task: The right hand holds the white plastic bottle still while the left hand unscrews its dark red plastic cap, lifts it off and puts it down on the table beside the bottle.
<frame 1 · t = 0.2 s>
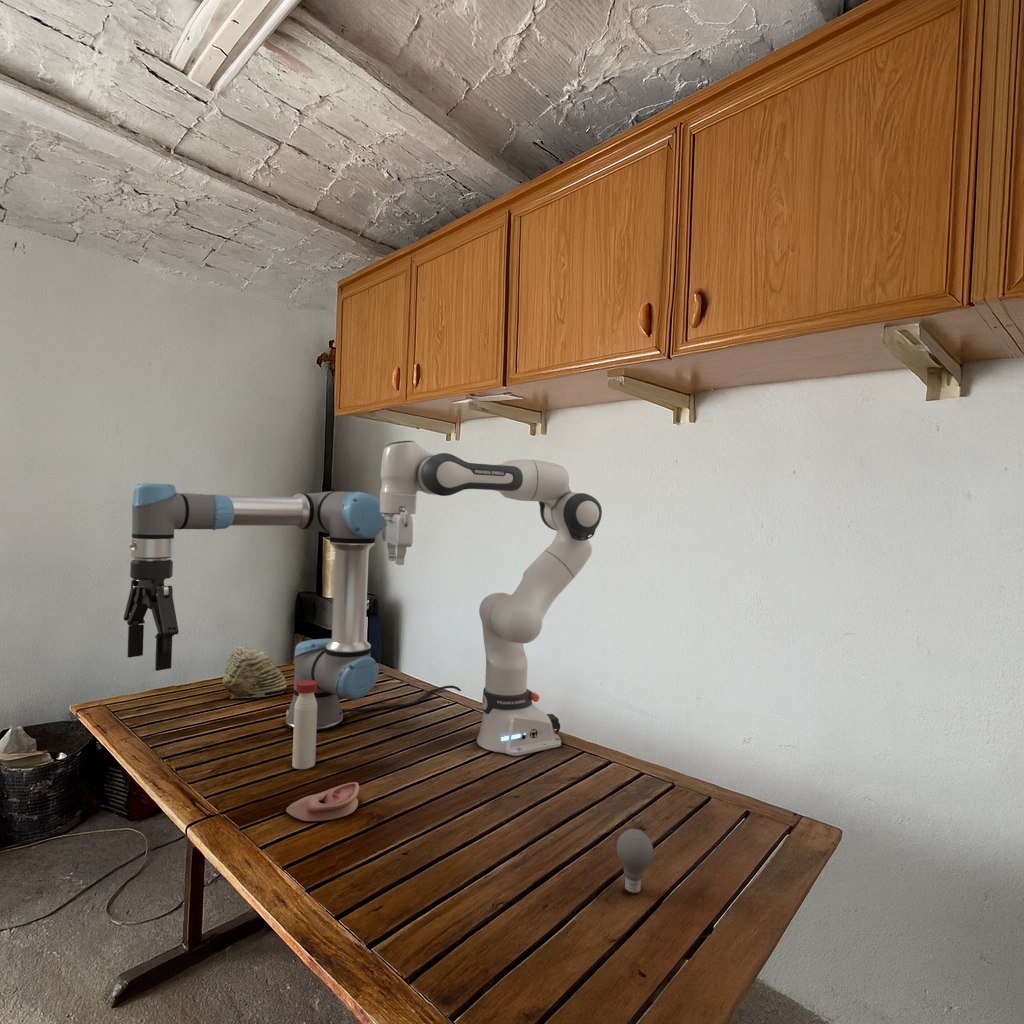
left hand: (148, 662, 129), 28 cm above the table, tool pointing down, fingers open, 13 cm apart
right hand: (395, 562, 156), 48 cm above the table, tool pointing down, fingers open, 8 cm apart
fossil: (254, 694, 198), on the table
light bulb: (632, 891, 106), on the table
cap: (306, 684, 149), point 19 cm above the table, screwed on, not yet turned
anatomical model: (322, 809, 129), on the table
bottle: (303, 764, 149), on the table
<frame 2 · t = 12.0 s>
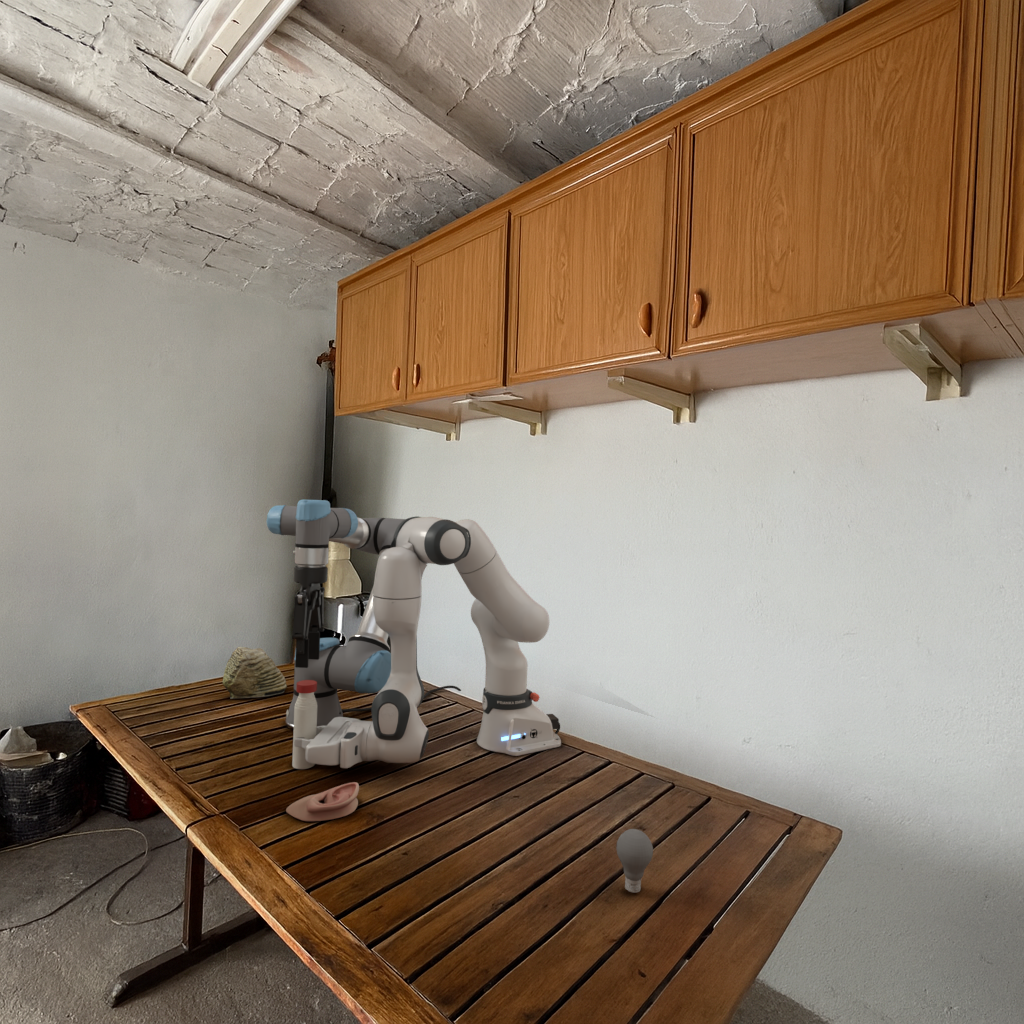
left hand: (307, 662, 149), 24 cm above the table, tool pointing down, fingers open, 7 cm apart
right hand: (301, 736, 149), 7 cm above the table, tool horizontal, fingers closed on bottle, 5 cm apart
bottle: (303, 764, 149), on the table, touching right hand
everything else where it was.
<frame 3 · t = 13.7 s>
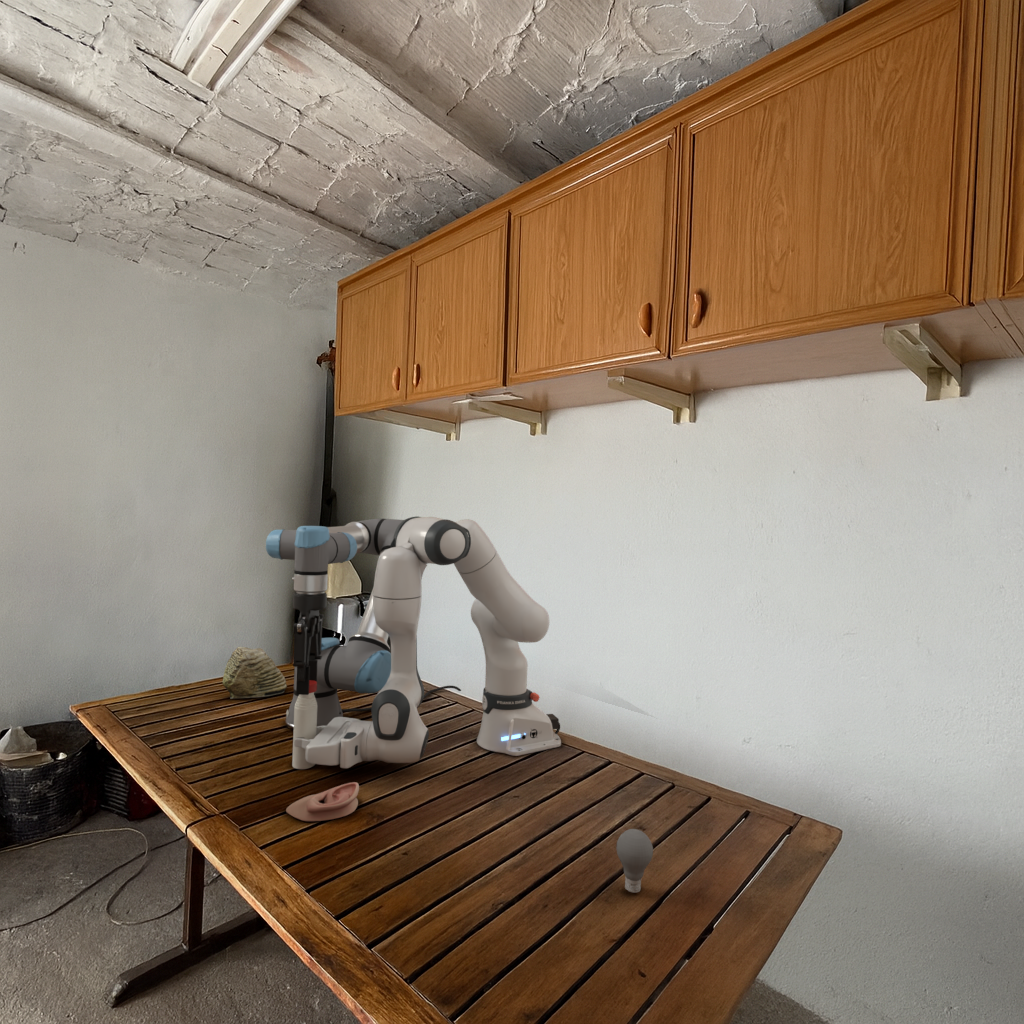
left hand: (306, 690, 149), 18 cm above the table, tool pointing down, fingers closed on cap, 4 cm apart
right hand: (301, 736, 149), 7 cm above the table, tool horizontal, fingers closed on bottle, 5 cm apart
cap: (306, 684, 149), point 19 cm above the table, screwed on, not yet turned, touching left hand
bottle: (303, 764, 149), on the table, touching right hand
everything else where it was.
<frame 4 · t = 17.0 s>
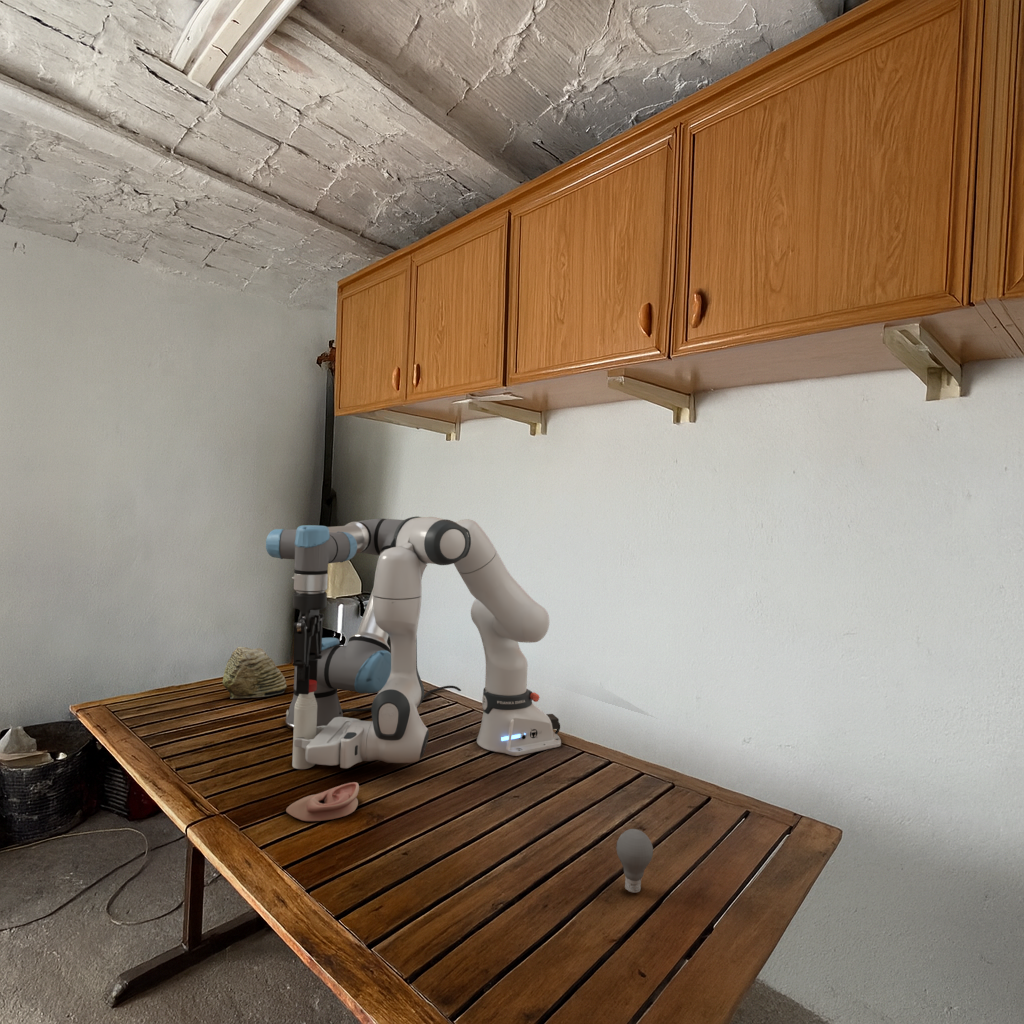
left hand: (306, 689, 149), 18 cm above the table, tool pointing down, fingers closed on cap, 4 cm apart
right hand: (300, 736, 149), 7 cm above the table, tool horizontal, fingers closed on bottle, 5 cm apart
cap: (306, 683, 149), point 19 cm above the table, turned 115° so far, risen 0.1 cm, still on its thread, touching left hand
bottle: (303, 764, 149), on the table, touching right hand
everything else where it was.
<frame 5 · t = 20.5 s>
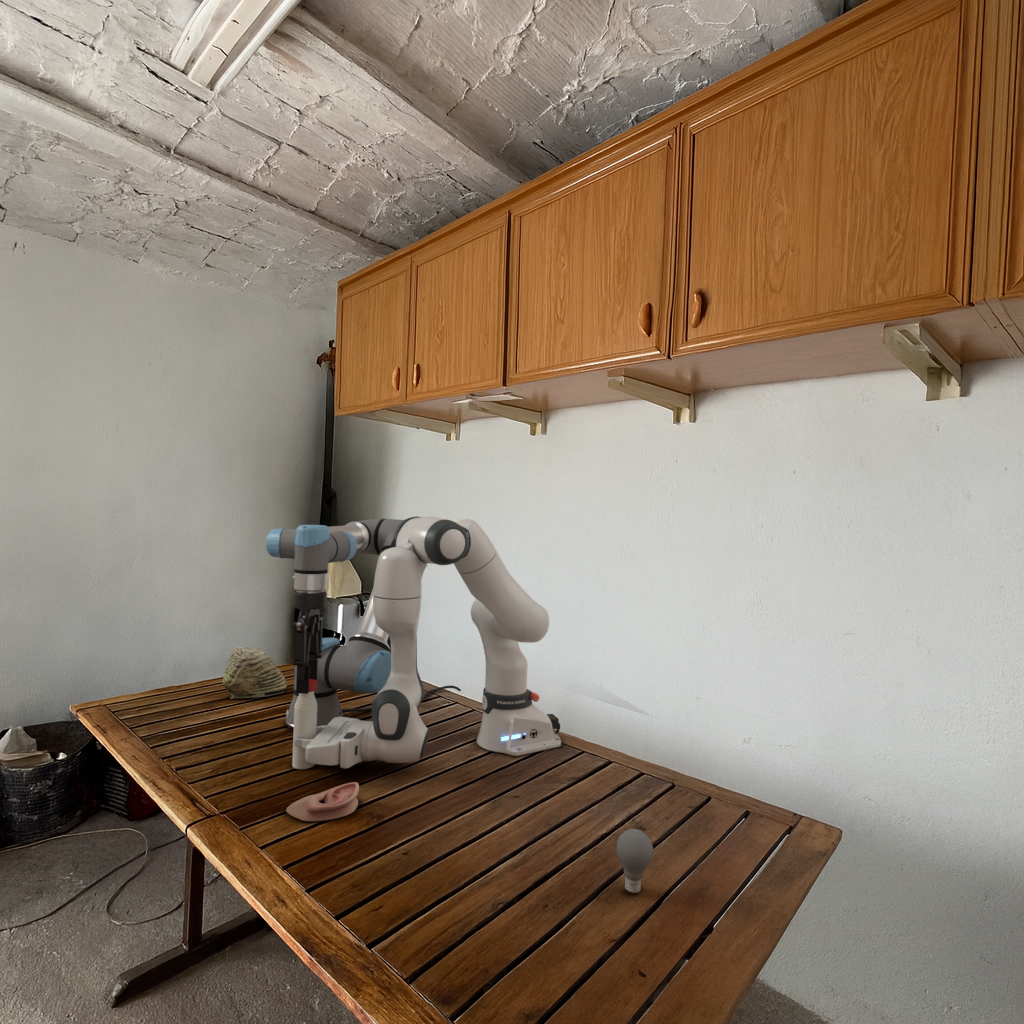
left hand: (306, 689, 149), 18 cm above the table, tool pointing down, fingers closed on cap, 4 cm apart
right hand: (301, 736, 149), 7 cm above the table, tool horizontal, fingers closed on bottle, 5 cm apart
cap: (306, 682, 149), point 19 cm above the table, turned 229° so far, risen 0.3 cm, still on its thread, touching left hand
bottle: (303, 764, 149), on the table, touching right hand
everything else where it was.
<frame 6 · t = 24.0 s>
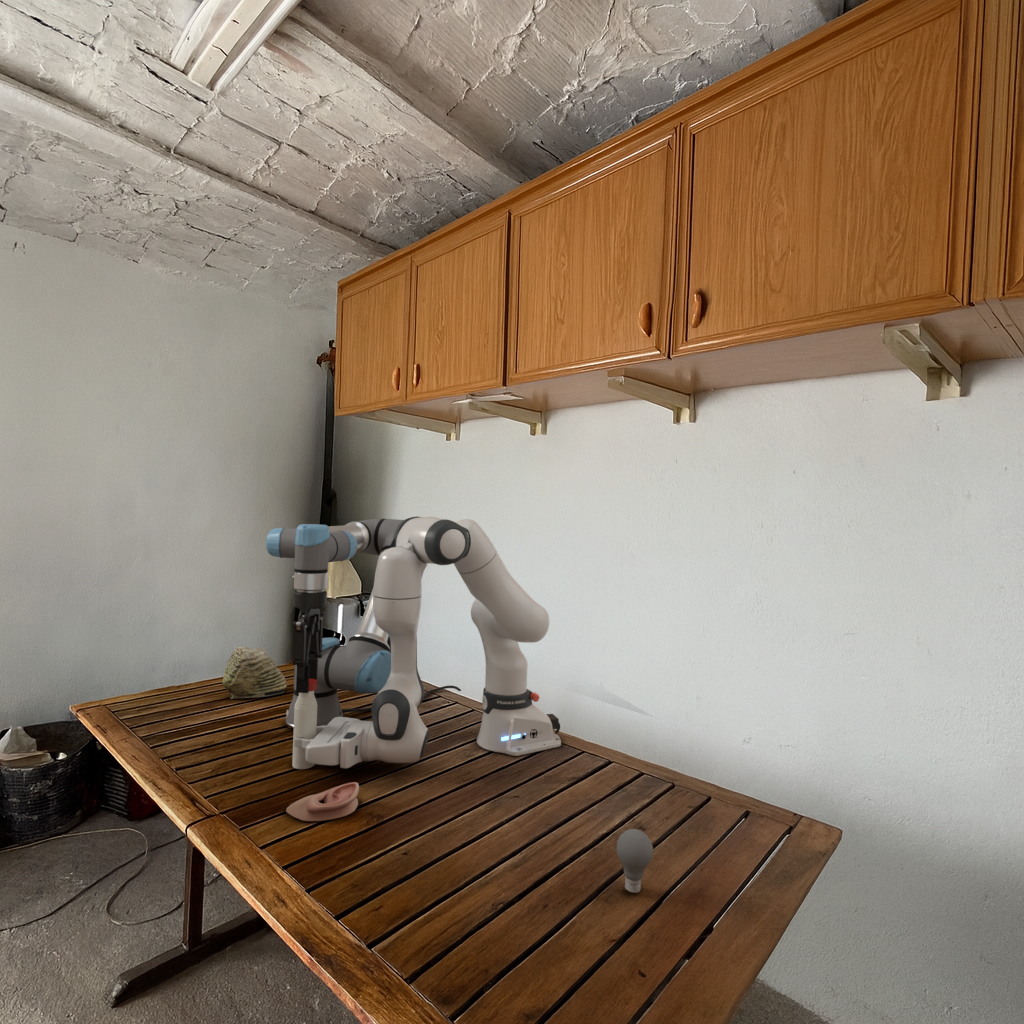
left hand: (306, 688, 149), 18 cm above the table, tool pointing down, fingers closed on cap, 4 cm apart
right hand: (301, 736, 149), 7 cm above the table, tool horizontal, fingers closed on bottle, 5 cm apart
cap: (306, 682, 149), point 20 cm above the table, turned 344° so far, risen 0.4 cm, still on its thread, touching left hand
bottle: (303, 764, 149), on the table, touching right hand
everything else where it was.
when the left hand's fingers open (2 cm above the table, at t = 31.3 s): cap drops 2 cm, point 2 cm above the table.
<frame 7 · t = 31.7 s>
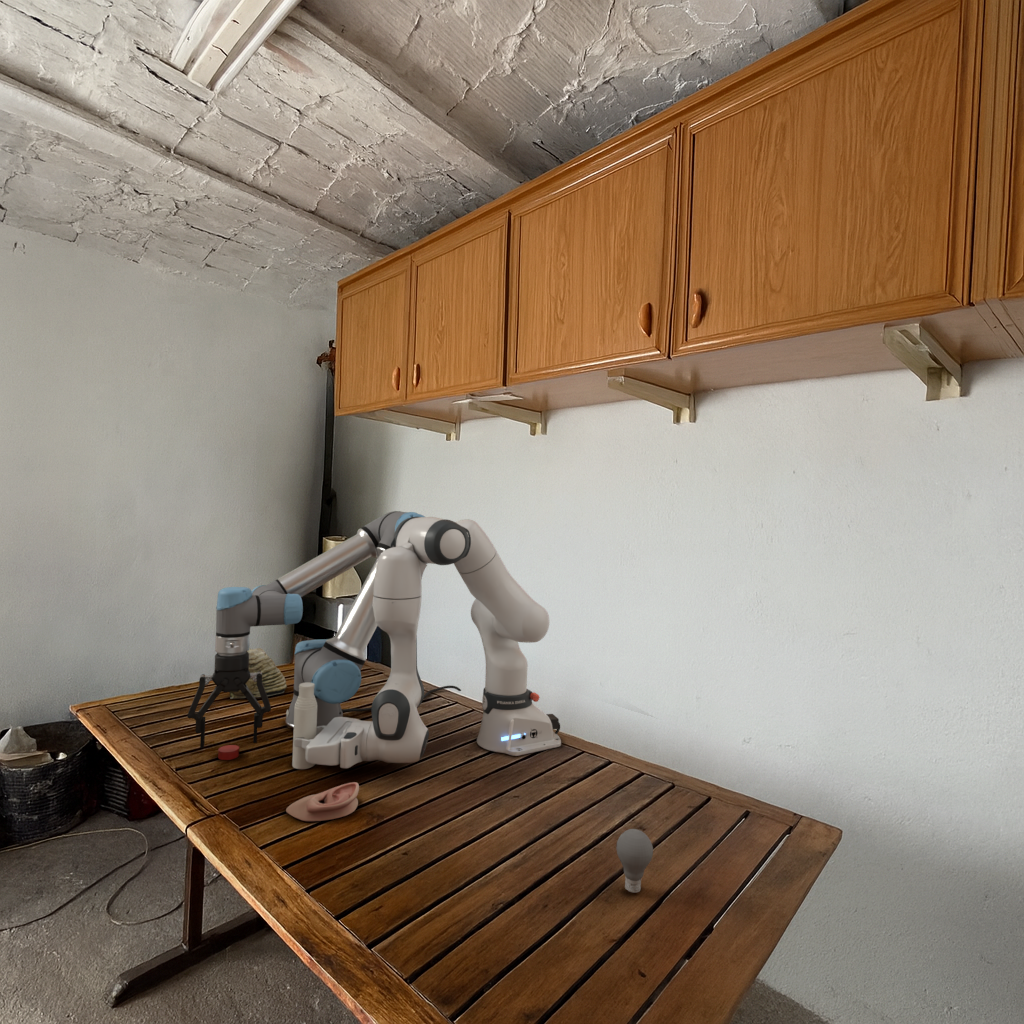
left hand: (229, 743, 152), 3 cm above the table, tool pointing down, fingers open, 11 cm apart
right hand: (301, 736, 149), 7 cm above the table, tool horizontal, fingers closed on bottle, 5 cm apart
cap: (228, 749, 152), point 2 cm above the table, off its thread
bottle: (303, 764, 149), on the table, touching right hand
everything else where it was.
when the right hand's fingers open (7 cm above the table, at t = 32.6 s): bottle stays where it is, on the table.
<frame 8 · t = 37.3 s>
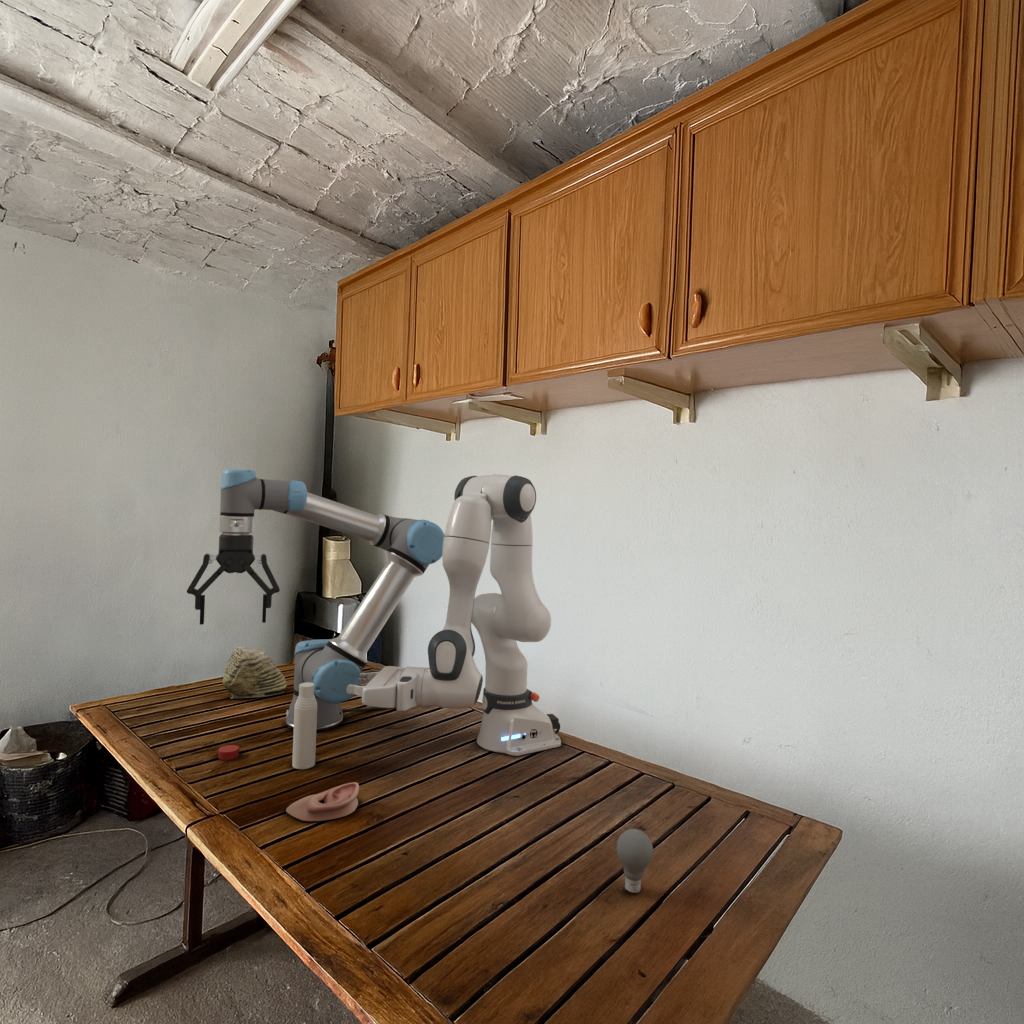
left hand: (233, 622, 151), 32 cm above the table, tool pointing down, fingers open, 13 cm apart
right hand: (353, 682, 148), 20 cm above the table, tool horizontal, fingers open, 8 cm apart
bottle: (303, 764, 149), on the table
everything else where it was.
at the end: cap came off its thread; cap point 1.5 cm above the table; the left hand is holding nothing; the right hand is holding nothing; bottle tilted 0°; bottle moved 0.0 cm from its start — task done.
